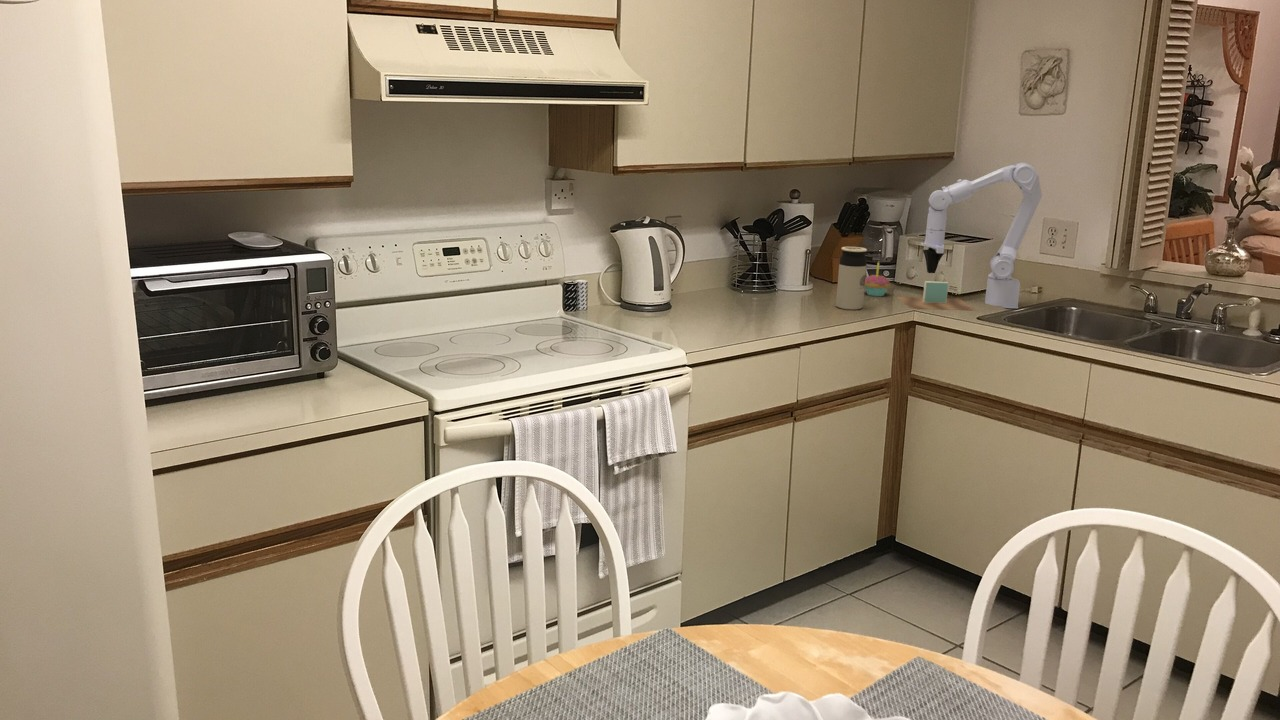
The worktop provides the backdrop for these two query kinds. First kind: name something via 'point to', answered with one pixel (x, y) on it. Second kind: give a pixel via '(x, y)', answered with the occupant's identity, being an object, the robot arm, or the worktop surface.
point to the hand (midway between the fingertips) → (931, 272)
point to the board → (936, 304)
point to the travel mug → (851, 278)
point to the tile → (935, 292)
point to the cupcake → (876, 284)
